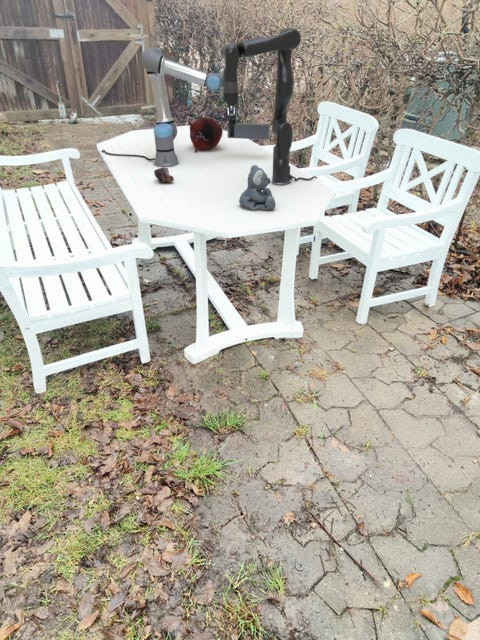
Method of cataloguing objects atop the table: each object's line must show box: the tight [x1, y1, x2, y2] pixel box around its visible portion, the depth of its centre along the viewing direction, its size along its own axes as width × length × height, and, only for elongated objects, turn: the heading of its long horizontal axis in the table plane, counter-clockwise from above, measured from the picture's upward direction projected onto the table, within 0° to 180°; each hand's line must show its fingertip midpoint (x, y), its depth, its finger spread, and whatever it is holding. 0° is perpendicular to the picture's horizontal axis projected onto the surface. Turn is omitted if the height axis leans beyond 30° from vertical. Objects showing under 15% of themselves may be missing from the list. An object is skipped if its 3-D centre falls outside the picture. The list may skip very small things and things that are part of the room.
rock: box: [153, 167, 175, 184], centre depth 260 cm, size 12×9×10 cm
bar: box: [226, 122, 271, 140], centre depth 293 cm, size 27×4×9 cm, turn 78°
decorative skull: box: [187, 117, 224, 153], centre depth 321 cm, size 21×24×25 cm
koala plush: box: [238, 164, 276, 211], centre depth 224 cm, size 17×18×20 cm
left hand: (232, 136), depth 296 cm, fingers closed on bar, 4 cm apart
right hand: (231, 125), depth 233 cm, fingers open, 8 cm apart
